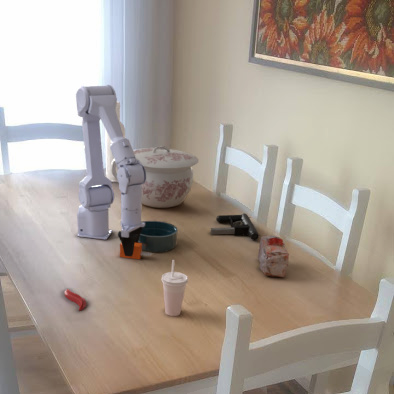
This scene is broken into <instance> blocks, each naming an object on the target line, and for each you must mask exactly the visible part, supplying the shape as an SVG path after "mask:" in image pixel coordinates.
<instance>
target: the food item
mask: <svg viewBox="0 0 394 394" xmlns="http://www.w3.org/2000/svg"><path fill="white" fill-rule="evenodd" d="M258 247H259V248H258V252H257V253H258V254H257V260H258V262H259V270H260V271H262V272H263V274H264V276H267V277H273V278H285V276H286V272H287V268H288V266H289V260H290V259H289V258H290V253H289V252H288V250H287V248H286V245H285V242H284V240H283V239H282V237H281V238H280V236H277V235H272V234H271V235H261V237H260V242H259V246H258Z"/></svg>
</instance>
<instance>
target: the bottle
mask: <svg viewBox="0 0 394 394" xmlns="http://www.w3.org/2000/svg"><path fill="white" fill-rule="evenodd" d="M115 110H116V113H117V117H118V120H119V123H120V127H121V130H122V133H123V137H124V138H126V128H125V126H124V124H123V123H122V122H121V102H120V101H118V100H117V105H116V109H115ZM104 131H105V132H104V133H105V135H104V136H105V177H107V178H108V179H109V180H110V181H111V183H119V182H118V181H117V180H116V178H115V177H114V176H113V174H112V171H111V167H112V162H113V160H114V157H113V154H112V152H111V149H110V145H111V143H112V141H111V139H110V137H109V135H108V133H107V131H106V129H105V130H104ZM116 173H118V167H117V165H116Z"/></svg>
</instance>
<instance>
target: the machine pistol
mask: <svg viewBox="0 0 394 394" xmlns="http://www.w3.org/2000/svg"><path fill="white" fill-rule="evenodd" d="M251 218H252V217H251V216H250V217H249V215H248V214H247V213H245V212H244V213H241V214H222V215H221V214H220V215H217V216H216V219H215V220H216V222H217V223H219V224H229V226H230V227H211V228H210V235H212V236H214V235H215V236H216V235H234V236H235V237H240V236H242V237H243V236H249V238H250V239H251V240H252V241H257V240H258V239H259V237H260V234H259V232H258V230H257V229H256V227H255V225H254V224H253V222H252V219H251Z"/></svg>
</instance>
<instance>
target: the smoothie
mask: <svg viewBox="0 0 394 394" xmlns="http://www.w3.org/2000/svg"><path fill="white" fill-rule="evenodd" d="M171 261H172V262H171V271H167V272H165V273H163V274H162V275H161V282H162V289H163V299H164V300H163V301H164V310H165V314H166V315H167V316H171V317H177V316H179V315H180V314H181V311H182V306H183V301H184V296H185V292H186V288H187V287H186V286H187V284H188V283H189V278H188V275H186V274H185V273H183V272H179V271H175V261H176V260H175V259H172V260H171Z"/></svg>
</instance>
